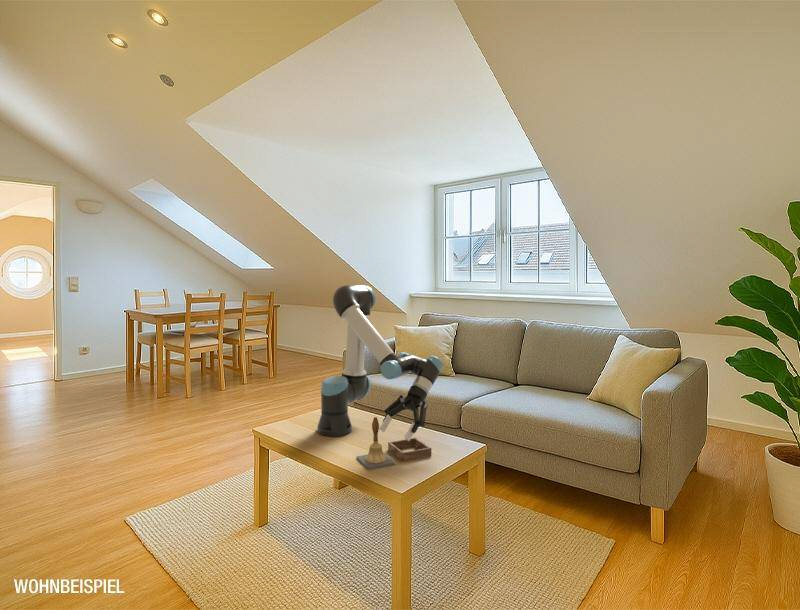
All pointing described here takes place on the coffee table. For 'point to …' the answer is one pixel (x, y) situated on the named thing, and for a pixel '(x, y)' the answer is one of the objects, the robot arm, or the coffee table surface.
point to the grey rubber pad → (372, 465)
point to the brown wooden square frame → (404, 456)
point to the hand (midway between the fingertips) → (393, 434)
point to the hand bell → (375, 446)
